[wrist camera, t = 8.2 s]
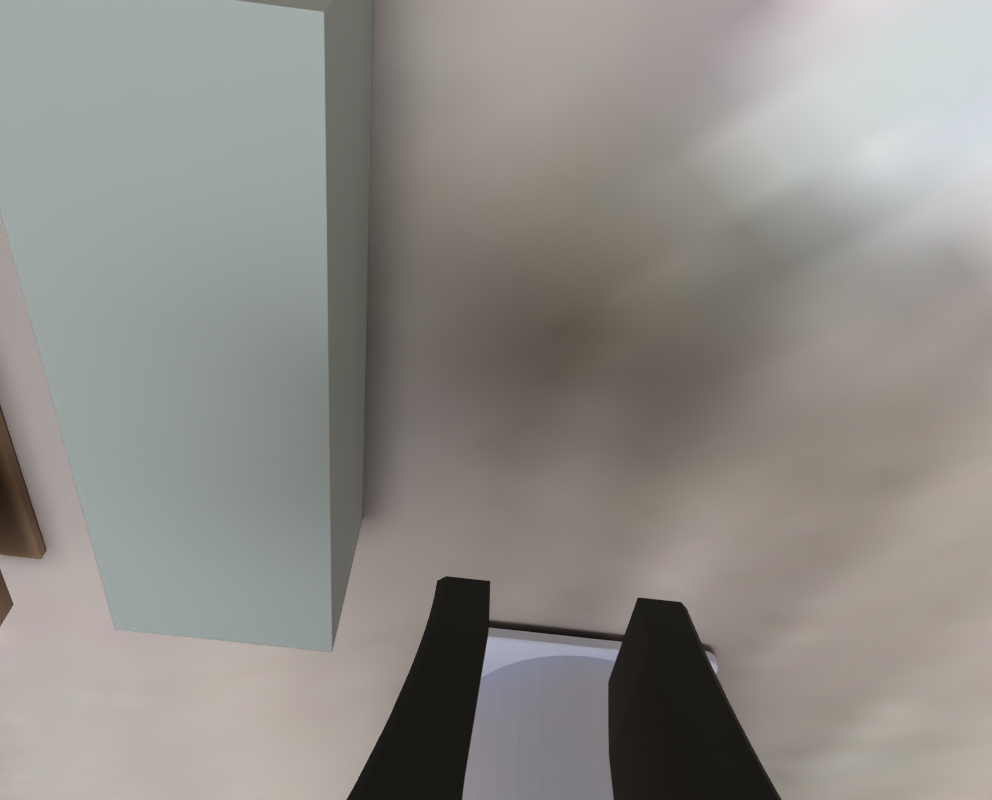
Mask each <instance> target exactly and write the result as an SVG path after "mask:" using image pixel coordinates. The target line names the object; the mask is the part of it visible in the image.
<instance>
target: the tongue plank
mask: <svg viewBox="0 0 992 800" xmlns="http://www.w3.org/2000/svg"><path fill="white" fill-rule="evenodd" d="M373 10H374V0H0V213H1V216H2V220H3V224H4V227H5V231H6V235H7V238H8V242H9V245H10V249H11V253H12V256H13V260H14V264H15V267H16V271H17V275H18V278H19V282H20V286H21V289H22V293H23V297H24V300H25V304H26V307H27V311H28V315H29V318H30V322H31V326H32V329H33V333H34V337H35V340H36V344H37V348H38V351H39V355H40V359H41V362H42V366H43V369H44V373H45V377H46V380H47V384H48V388H49V391H50V395H51V399H52V402H53V406H54V410H55V413H56V417H57V421H58V424H59V428H60V431H61V435H62V439H63V442H64V446H65V450H66V453H67V457H68V461H69V464H70V468H71V472H72V475H73V479H74V482H75V486H76V490H77V493H78V497H79V501H80V504H81V508H82V512H83V515H84V519H85V523H86V526H87V530H88V534H89V537H90V541H91V544H92V548H93V552H94V555H95V559H96V563H97V566H98V570H99V574H100V577H101V581H102V585H103V588H104V592H105V596H106V599H107V603H108V606H109V610H110V614H111V617H112V621H113V625H114V628H115V630H123V631H133V632H143V633H152V634H162V635H172V636H181V637H191V638H200V639H210V640H220V641H229V642H239V643H248V644H258V645H268V646H277V647H287V648H297V649H306V650H316V651H325V652H332V650H333V646H334V641H335V637H336V633H337V628H338V624H339V620H340V615H341V611H342V606H343V602H344V598H345V593H346V589H347V585H348V580H349V576H350V571H351V567H352V563H353V558H354V554H355V550H356V545H357V541H358V537H359V532H360V528H361V523H362V518H363V472H364V426H365V380H366V334H367V287H368V241H369V195H370V149H371V103H372V56H373Z"/></svg>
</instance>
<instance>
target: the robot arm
mask: <svg viewBox="0 0 992 800" xmlns="http://www.w3.org/2000/svg"><path fill="white" fill-rule="evenodd" d="M489 604H490V581H483V580H474V579H465V578H456V577H447V576H446V577H444V578H442V579H440V580H438V581H437V585H436V591H435V597H434V601H433V605H432V608H431V612H430V616H429V619H428V622H427V626H426V629H425V632H424V635H423V638H422V640H421V643H420V646H419V648H418V651H417V654H416V656H415V659H414V662H413V664H412V667H411V669H410V672H409V674H408V676H407V678H406V681H405V683H404V685H403V688H402V690H401V692H400V694H399V697H398V699H397V701H396V703H395V706H394V708H393V710H392V713H391V715H390V717H389V719H388V721H387V723H386V725H385V727H384V730H383V731H382V733H381V735H380V737H379V739H378V741H377V743H376V745H375V747H374V749H373V751H372V753H371V755H370V757H369V759H368V761H367V763H366V765H365V767H364V769H363V770H362V772H361V774H360V776H359V778H358V780H357V782H356V784H355V786H354V788H353V789H352V791H351V793H350V795H349V797H348V798H347V800H781V798H780V796H779V795H778V793H777V791H776V789H775V788H774V786H773V784H772V782H771V781H770V779H769V777H768V775H767V773H766V772H765V770H764V768H763V766H762V764H761V762H760V761H759V759H758V757H757V755H756V753H755V751H754V749H753V747H752V745H751V744H750V742H749V740H748V738H747V736H746V734H745V732H744V730H743V729H742V727H741V725H740V723H739V721H738V719H737V717H736V715H735V713H734V711H733V709H732V707H731V705H730V703H729V701H728V699H727V697H726V695H725V693H724V691H723V689H722V687H721V684H720V682H719V680H718V678H717V676H716V673H717V671H718V664H717V659H716V657H715V655H713V654H712V653H710V652H707V651H705V650H704V648H703V646H702V643H701V641H700V639H699V637H698V634H697V632H696V630H695V627H694V625H693V623H692V620H691V618H690V615H689V613H688V611H687V608H686V607H685V606H684V605H683V604H682V603H681V602H674V601H665V600H656V599H647V598H638V599H637V602H636V604H635V607H634V610H633V613H632V616H631V619H630V622H629V624H628V627H627V630H626V633H625V636H624V639H623V641H622V642H619V641H610V640H601V639H592V638H582V637H573V636H564V635H555V634H545V633H536V632H527V631H518V630H508V629H499V628H490V627H489Z"/></svg>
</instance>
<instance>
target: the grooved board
mask: <svg viewBox="0 0 992 800" xmlns="http://www.w3.org/2000/svg"><path fill="white" fill-rule="evenodd" d="M45 552H46V550H45V547H44V543H43V540H42V537H41V534H40V531H39V528H38V525H37V522H36V518H35V515H34V512H33V509H32V506H31V503H30V500H29V497H28V493H27V490H26V487H25V484H24V481H23V478H22V475H21V472H20V468H19V465H18V462H17V459H16V456H15V453H14V450H13V447H12V443H11V440H10V437H9V434H8V431H7V428H6V425H5V421H4V418H3V415H2V412H1V409H0V555H9V556H18V557H27V558H36V559H41V558H42V557H43V555H44V553H45ZM12 606H13V602H12V599H11V597H10V594H9V591H8V589H7V586H6V584H5V581H4V578H3V576H2V573H1V570H0V626H1V624H2V623H3V621H4V619H5V618H6V616H7V614H8V613H9V611H10V609H11V608H12Z"/></svg>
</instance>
